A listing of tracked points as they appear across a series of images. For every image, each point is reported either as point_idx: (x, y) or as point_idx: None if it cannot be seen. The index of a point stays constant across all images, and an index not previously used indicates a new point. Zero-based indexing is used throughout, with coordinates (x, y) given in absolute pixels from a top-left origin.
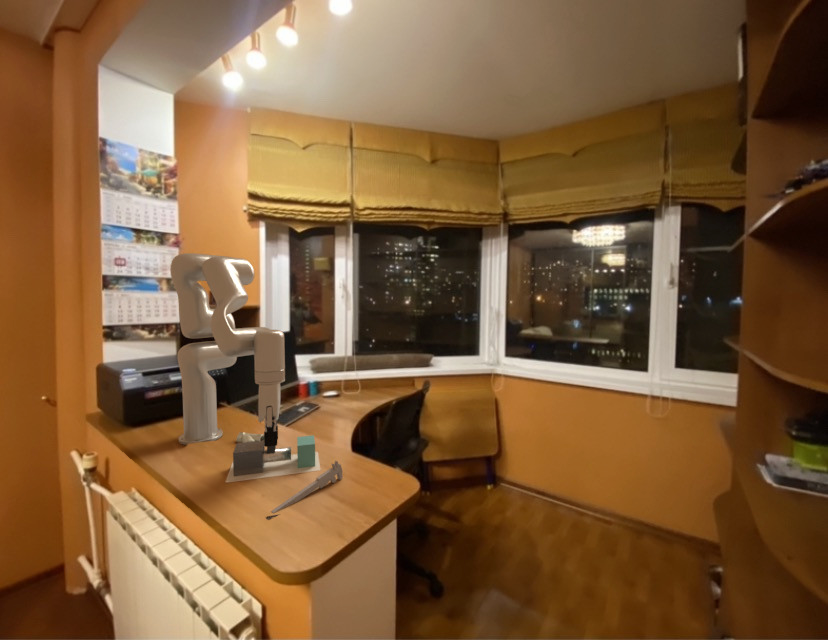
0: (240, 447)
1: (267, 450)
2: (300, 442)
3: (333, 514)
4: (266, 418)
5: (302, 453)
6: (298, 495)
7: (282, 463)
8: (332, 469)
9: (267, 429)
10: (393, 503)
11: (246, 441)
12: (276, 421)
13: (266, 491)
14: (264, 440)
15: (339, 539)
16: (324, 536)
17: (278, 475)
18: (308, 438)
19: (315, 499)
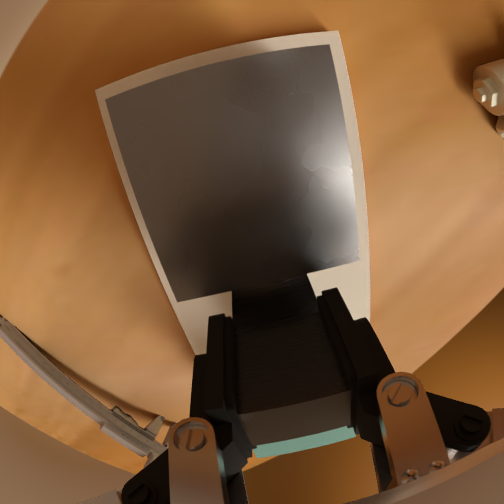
0: (224, 109)
1: (233, 298)
2: None
3: (55, 410)
4: (392, 463)
5: None
6: (46, 381)
7: None
8: (141, 455)
9: (146, 471)
10: (119, 465)
11: (502, 77)
12: (374, 458)
13: (85, 273)
14: (207, 348)
15: (12, 408)
16: (6, 394)
17: (170, 300)
18: (325, 434)
19: (87, 390)
